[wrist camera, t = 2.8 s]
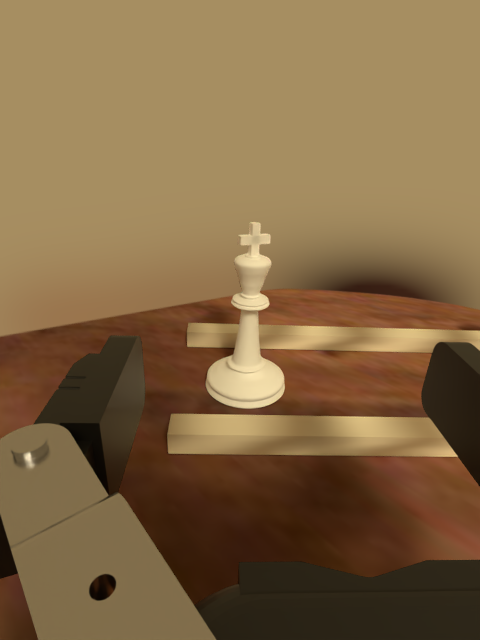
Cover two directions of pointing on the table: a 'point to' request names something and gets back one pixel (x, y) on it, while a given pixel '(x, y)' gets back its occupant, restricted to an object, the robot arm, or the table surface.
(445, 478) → the table surface
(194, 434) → the track
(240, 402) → the chess piece
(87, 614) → the robot arm
